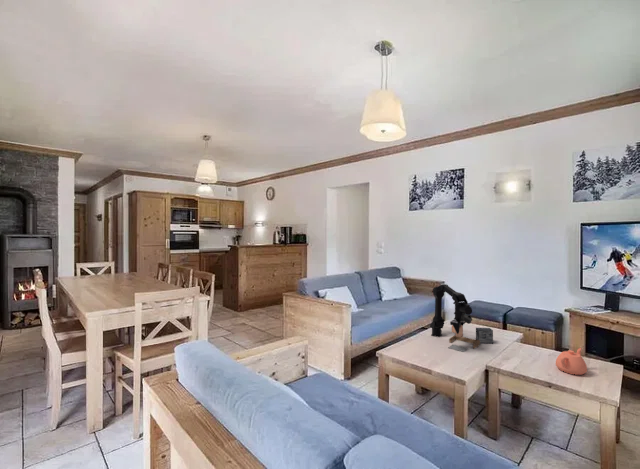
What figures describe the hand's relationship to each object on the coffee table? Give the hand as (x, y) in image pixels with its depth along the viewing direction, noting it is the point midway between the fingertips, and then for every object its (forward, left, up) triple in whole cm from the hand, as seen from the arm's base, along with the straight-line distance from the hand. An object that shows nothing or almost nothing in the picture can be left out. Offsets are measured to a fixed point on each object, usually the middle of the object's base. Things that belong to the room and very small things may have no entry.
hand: (459, 332), depth 232 cm
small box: (+10, +25, -11) cm, 30 cm away
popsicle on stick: (-1, 0, -3) cm, 3 cm away
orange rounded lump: (+64, +9, -11) cm, 66 cm away
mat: (0, -1, -11) cm, 11 cm away
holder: (0, +12, -11) cm, 16 cm away
